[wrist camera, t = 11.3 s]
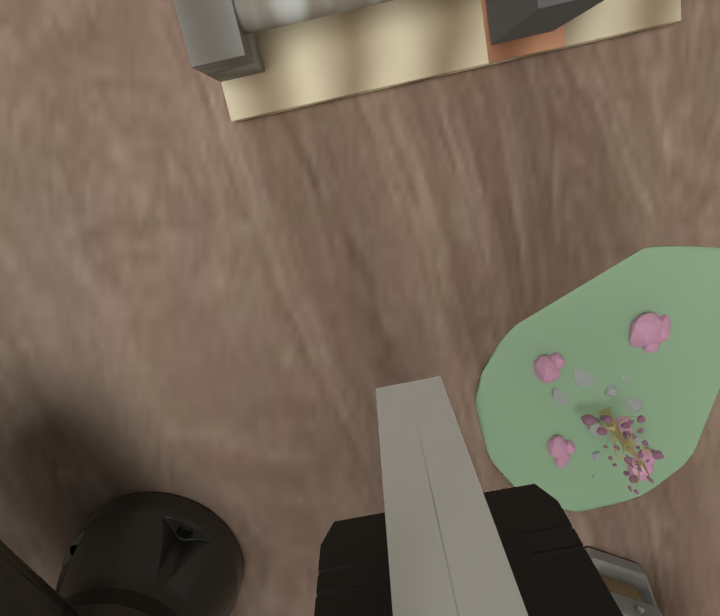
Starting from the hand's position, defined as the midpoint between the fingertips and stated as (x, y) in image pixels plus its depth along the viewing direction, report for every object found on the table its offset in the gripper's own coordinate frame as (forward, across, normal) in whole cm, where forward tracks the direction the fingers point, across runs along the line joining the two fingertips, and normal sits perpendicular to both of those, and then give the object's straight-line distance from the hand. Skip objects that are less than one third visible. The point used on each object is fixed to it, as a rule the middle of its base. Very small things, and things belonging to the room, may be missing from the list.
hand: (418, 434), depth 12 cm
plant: (+29, +17, -15) cm, 37 cm away
